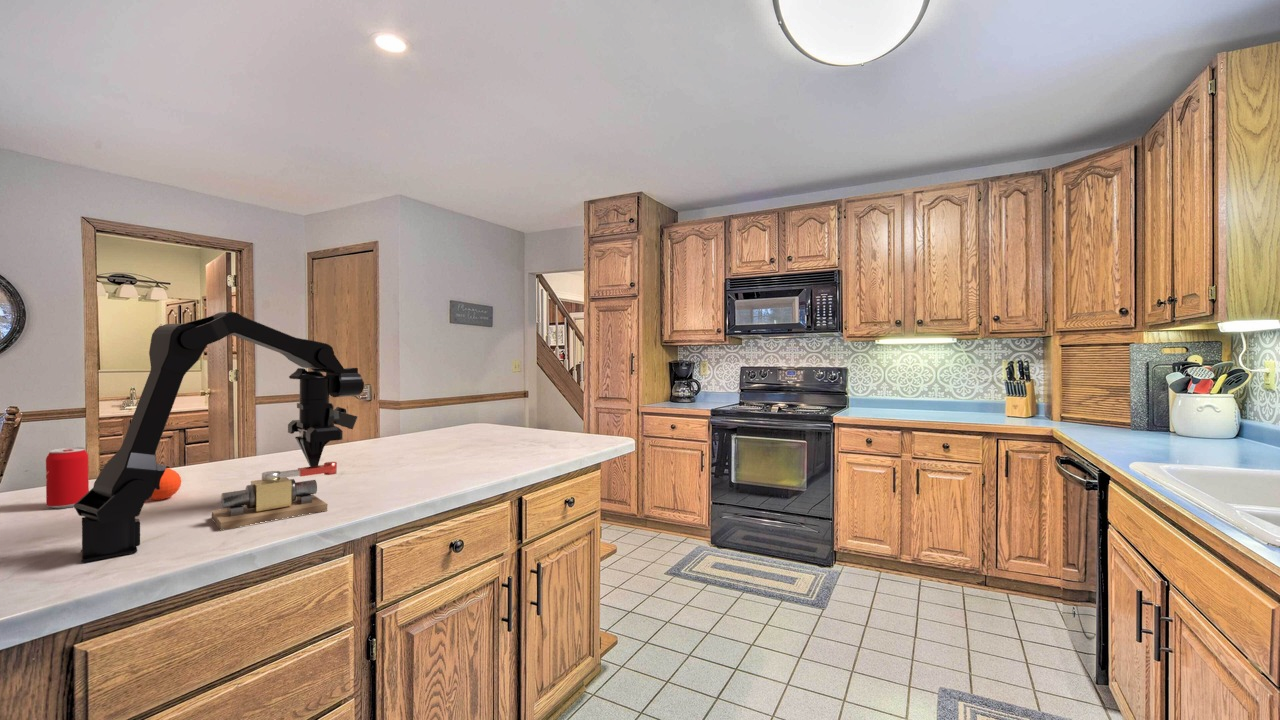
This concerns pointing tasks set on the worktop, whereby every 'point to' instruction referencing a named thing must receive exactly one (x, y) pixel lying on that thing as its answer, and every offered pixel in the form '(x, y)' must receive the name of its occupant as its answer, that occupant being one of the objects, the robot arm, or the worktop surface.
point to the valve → (268, 495)
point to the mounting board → (266, 514)
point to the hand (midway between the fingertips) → (314, 468)
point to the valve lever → (301, 472)
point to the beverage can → (66, 477)
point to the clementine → (167, 485)
